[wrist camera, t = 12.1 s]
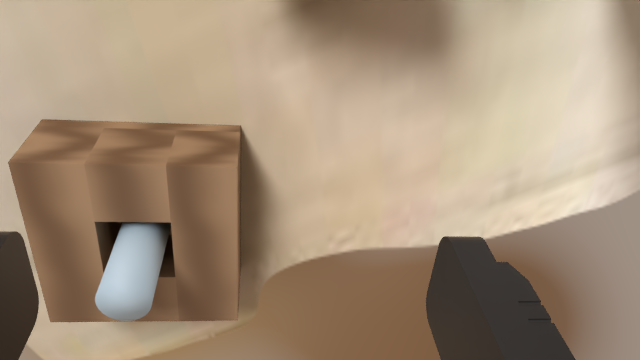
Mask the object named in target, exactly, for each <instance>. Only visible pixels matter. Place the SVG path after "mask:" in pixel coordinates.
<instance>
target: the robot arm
mask: <svg viewBox="0 0 640 360" xmlns="http://www.w3.org/2000/svg"><path fill="white" fill-rule="evenodd" d="M540 302H541V301H540V299H539V298H538V296H537V294H536V292H535V291H534V289H533V287H532V286H531V284H530V283H529V281H528V280H527V279H526V278H525V277H524V276H523V275H521V274H520V273H519V272H518V271H517V270H516V269H515V268H514V267H512V266H511V265H510V264H509V263H508V262H496V260H495V258H494V256H493V255H492V253H491V251H490V249H489V248H488V245H487V244H486V242H485V240H484V239H483V238H481V237H443V238H442V239H441V241H440V243H439V247H438V251H437V255H436V259H435V263H434V267H433V271H432V275H431V279H430V283H429V287H428V291H427V298H426V310H427V318H428V322H429V325H430V328H431V331H432V334H433V337H434V340H435V343H436V346H437V349H438V352H439V355H440V358H441V360H575V358H574V356H573V355H572V353H571V351H570V350H569V348H568V346H567V345H566V343H565V341H564V340H563V338H562V336H561V335H560V333H559V331H558V329H557V328H556V326H555V324H554V323H551V318H550V316H549V314H548V313H547V311H546V309H545V308H544V306H543V305H541V304H540ZM38 305H39V298H38V291H37V287H36V284H35V280H34V276H33V273H32V269H31V265H30V262H29V258H28V254H27V251H26V247H25V243H24V240H23V238H22V236H21V234H20V233H18V232H0V360H18V359H19V357H20V355H21V353H22V351H23V349H24V347H25V344H26V342H27V340H28V338H29V336H30V334H31V332H32V330H33V327H34V325H35V322H36V319H37V314H38Z"/></svg>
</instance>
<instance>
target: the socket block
mask: <svg viewBox="0 0 640 360" xmlns="http://www.w3.org/2000/svg"><path fill="white" fill-rule="evenodd" d="M8 163H9V167H10V171H11V175H12V179H13V182H14V186H15V190H16V194H17V198H18V201H19V205H20V209H21V213H22V216H23V220H24V224H25V228H26V232H27V235H28V239H29V243H30V247H31V251H32V254H33V258H34V262H35V266H36V269H37V273H38V277H39V281H40V285H41V288H42V292H43V296H44V300H45V303H46V307H47V311H48V315H49V319H50V322H112V321H119V320H115V319H112V318H110V317H108V316H106V315H104V314H103V313H102V312H101V311H100V310H99V309H98V307H97V306H96V303H95V296H96V293H97V290H98V287H99V285H100V282H101V279H102V277H103V274H104V271H105V268H106V266H107V263H108V260H109V258H110V255H111V252H112V249H113V247H114V244H115V241H116V239H117V236H118V233H119V230H120V228H121V225H122V222H169V223H171V227H170V231H169V235H168V240H167V244H166V248H165V252H164V256H163V260H162V265H161V269H160V273H159V277H158V281H157V285H156V290H155V294H154V298H153V302H152V306H151V309H150V311H149V312H148V313H147V314H146V315H145V316H144V317H142V318H140V319H137V320H133V321H215V320H238V306H239V288H240V270H241V126H231V125H199V124H167V123H135V122H103V121H71V120H41V121H40V123H39V124H38V125H37V126H36V128H35V129H34V130H33V132H32V133H31V134H30V135H29V137H28V138H27V139H26V140H25V142H24V143H23V144H22V145H21V147H20V148H19V149H18V151H17V152H16V153H15V154H14V156H13V157H12V158H11V159H10V161H9V162H8Z"/></svg>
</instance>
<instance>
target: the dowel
mask: <svg viewBox="0 0 640 360" xmlns="http://www.w3.org/2000/svg"><path fill="white" fill-rule="evenodd" d="M170 227H171V223H169V222H122V225H121V228H120V230H119V233H118V236H117V239H116V241H115V244H114V247H113V249H112V252H111V255H110V258H109V260H108V263H107V266H106V268H105V271H104V274H103V277H102V279H101V282H100V285H99V287H98V290H97V293H96V296H95V303H96V306H97V307H98V309H99V310H100V311H101V312H102V313H103V314H104V315H106V316H108V317H110V318H112V319H115V320H119V321H133V320H137V319H140V318H142V317H144V316H145V315H146V314H147V313H148V312H149V311H150V309H151V306H152V302H153V298H154V294H155V290H156V285H157V281H158V277H159V273H160V269H161V265H162V260H163V256H164V252H165V248H166V244H167V240H168V235H169V231H170Z"/></svg>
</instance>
